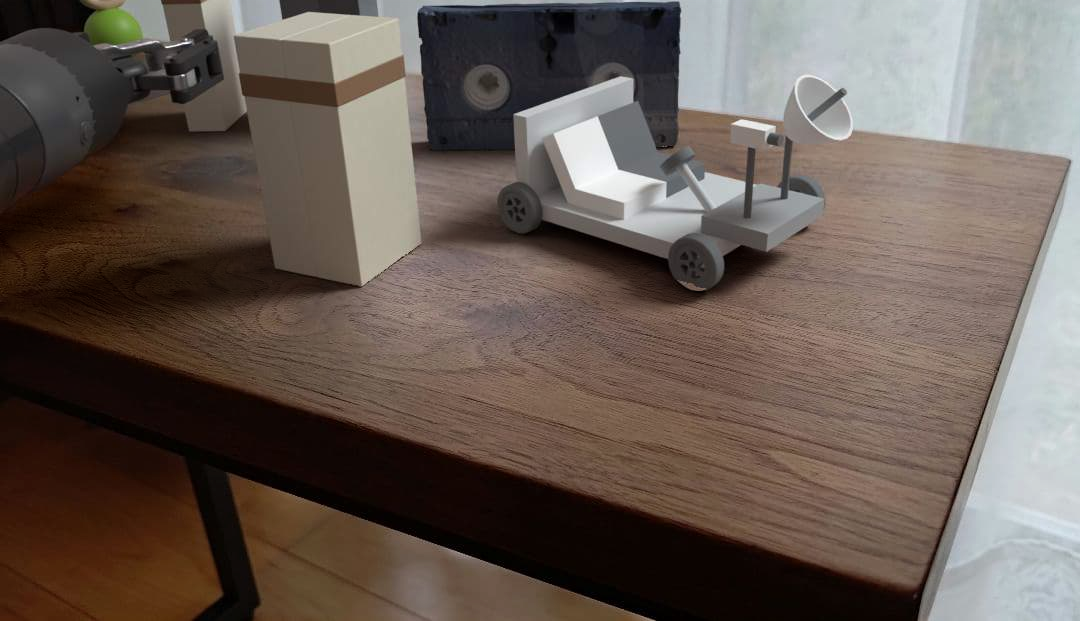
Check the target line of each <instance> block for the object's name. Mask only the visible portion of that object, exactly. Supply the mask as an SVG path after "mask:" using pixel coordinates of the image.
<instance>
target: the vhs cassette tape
mask: <svg viewBox="0 0 1080 621" xmlns="http://www.w3.org/2000/svg"><path fill="white" fill-rule="evenodd" d="M681 13H682V7H681V3H680V1H679V0H678V1H674V0H673V1H665V2H663V1H623V2H622V1H621V2H619V1H618V2H617V1H616V2H612V1H611V2H610V1H609V2H591V3H586V2H585V3H584V2H576V3H575V2H574V3H571V2H570V3H568V2H551V3H545V2H544V3H543V2H542V3H503V4H501V3H500V4H485V5H472V4H471V5H470V4H449V5H448V4H447V5H422V7H420V8H419V9H418V11H417V13H416V14H417V15H416V20H417V29H418V30H417V31H418V32H417V33H418V38H419V39H420V40H421V44H420V45H419V53H420V73H421V75H422V91H423V101H424V106H423V111H424V114H425V123H426V137H427V140H428V141H427V142H428V147H429V148H430V150H431V149H432V151H457V149H458V150H470V151H472V150H473V151H474V150H475V151H476V150H480V151H481V150H484V149H486V150H489V149H493V150H515V137H514V117H513V114H516V113H519V112H522V111H524V110H527V109H530V108H533V107H536V106H538V105H541V104H544V103H547V102H550V101H553V100H555V99H558V98H561V97H564V96H567V95H569V94H572V93H575V92H578V91H581V90H584V89H586V88H589V87H592V86H595V85H598V84H600V83H603V82H606V81H609V80H612V79H615V78H617V77H620V76H622V77H628V78H633V102H636V101H638V102H639V104H640V107H641V110H642V112H643V115H644V117H645V120H646V123H647V125H648V128H649V130H650V133H651V136H652V138H653V141H654V143H655V146H656V147H662V146H664V147H665V146H673V147H675V146H676V145H677V143H678V138H679V130H680V129H679V128H680V127H679V111H680V110H679V88H680V79H679V77H680V55H681V46H680V43H681V34H680V33H681V24H682V23H681V22H682V21H681V20H682V19H681V18H682V17H681ZM442 149H443V150H442ZM449 149H450V150H449ZM486 150H484V151H486ZM489 151H490V150H489Z"/></svg>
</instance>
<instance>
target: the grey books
mask: <svg viewBox="0 0 1080 621" xmlns="http://www.w3.org/2000/svg"><path fill="white" fill-rule="evenodd" d="M278 2H279V8H280V14H281V20H284V19H287V18H291V17H294V16H297V15H300V14H303V13H306V12H316V13H330V14H344V15H351V16H352V15H358V16H372V17H379V9H378V0H278Z"/></svg>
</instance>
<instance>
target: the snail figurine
mask: <svg viewBox="0 0 1080 621" xmlns="http://www.w3.org/2000/svg"><path fill="white" fill-rule="evenodd" d="M78 1H79V2H80V3H81V4H82V5H83V6H85V7H87V8H89V9H93V10H95V11H94V12H92V14H90V15H89V17H88V18H87V19H86V22H85V24H84V28H83V32H86V33H87V34H88V36H89V39H90V43H91V45H98V44H103V43H107V44H111V45H118V44H123V43H128V42H132V41H137V40H142V39H144V36H143V30H142V28H141V25H140V23H139V22H138V20H137V19H136V18H135V17H134V16H133V15H132V14H131V13H130V12H128V11H126V10H124V9H123V8H120V7H122V6H123V5H124V4H125V3H126V1H127V0H78ZM138 54H139V53H137V54H133V56H134V57H135V58H136V56H137V55H138Z"/></svg>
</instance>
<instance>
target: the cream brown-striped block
mask: <svg viewBox="0 0 1080 621" xmlns="http://www.w3.org/2000/svg"><path fill="white" fill-rule="evenodd" d="M234 42H235V48H236V53H237V59H238V64H239V70H240V73H239V79H240V85H241V90H242V95H243V96H244V98H245V103H246V109H247V112H246V114H247V118H248V119H247V120H248V126H249V131H250V136H251V141H252V147H253V148H252V149H253V154H254V159H255V166H256V170H257V176H258V181H259V187H260V191H261V198H262V203H263V209H264V215H265V220H266V226H267V231H268V236H269V243H270V249H271V253H272V259H273V265H274V268H275V269H276V270H281V271H285V272H290V273H294V274H299V275H305V276H308V277H309V276H310V277H312V278H313V277H314V278H318V279H323V280H329V281H332V282H337V283H343V284H346V285H351V284H352V285H351V286H356V285H357V287H363V286H365V285H366V284H368V283H369V282H370V281H372V280H373V279H375V278H376V277H377V275H378V274H379V275H380V274H382V273H383V272H385V271H386V270H387V269H389V268H390V267H391V266H390V265H392V264H393V263H394V262H396V261H397V260H398V259H400V258H401V257H402V256H404V257H406V256H405V254H407V255H409V254H410V253H411V252H410V251H412V250H413V249H414V248H415V247H417V246H418V245H419V244H421V245H422V235H421V234H422V233H421V227H420V226H421V225H420V216H419V215H420V214H419V205H418V195H417V185H416V177H415V175H416V174H415V166H414V158H413V148H412V146H413V145H412V137H411V136H412V135H411V128H410V126H411V125H410V117H409V108H408V98H407V88H406V87H407V86H406V76H407V75H406V64H405V56H404V54H403V47H402V38H401V27H400V19H399V18H397V17H387V16H386V17H383V16H378V17H372V16H358V15H352V16H351V15H344V14H330V13H316V12H306V13H303V14H300V15H297V16H294V17H291V18H287V19H284V20H282V19H280V20H278V21H274V22H272V23H269V24H266V25H262V26H259V27H255V28H253V29H250V30H247V31H244V32H240V33H236V35H234ZM417 248H418V247H417ZM414 250H415V249H414ZM414 250H413V251H414ZM413 251H412V252H413ZM409 252H410V253H409ZM408 253H409V254H408ZM400 260H401V259H400ZM397 262H398V261H397ZM397 262H396V263H397ZM393 265H394V264H393ZM393 265H392V266H393ZM389 266H390V267H389ZM388 267H389V268H388ZM385 269H386V270H385ZM384 270H385V271H384ZM381 272H382V273H381ZM379 275H378V276H379ZM375 276H376V277H375ZM374 277H375V278H374ZM368 281H369V282H368ZM367 282H368V283H367Z"/></svg>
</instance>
